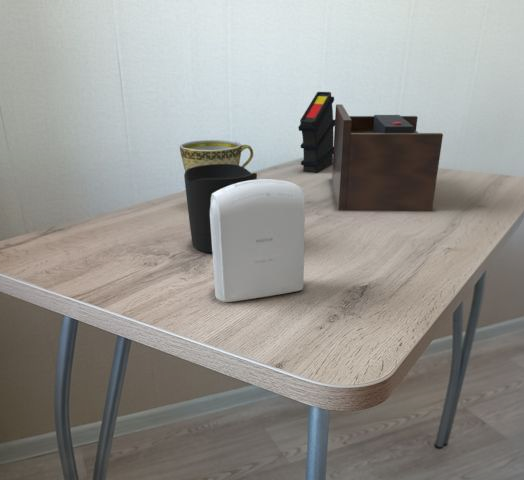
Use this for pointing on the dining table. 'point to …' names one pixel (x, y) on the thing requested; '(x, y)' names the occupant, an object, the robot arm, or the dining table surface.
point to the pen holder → (208, 197)
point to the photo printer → (257, 239)
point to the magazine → (318, 133)
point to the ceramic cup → (212, 153)
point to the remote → (391, 124)
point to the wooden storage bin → (383, 166)
